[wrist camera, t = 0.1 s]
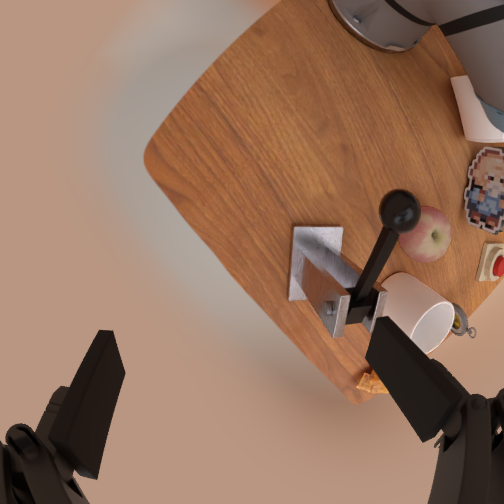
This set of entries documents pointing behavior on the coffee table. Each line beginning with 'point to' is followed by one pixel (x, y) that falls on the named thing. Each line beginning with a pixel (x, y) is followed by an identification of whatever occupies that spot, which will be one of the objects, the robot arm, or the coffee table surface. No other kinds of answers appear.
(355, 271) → the bracket
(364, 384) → the pyrite
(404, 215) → the lever
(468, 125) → the white cylinder
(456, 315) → the pocket watch
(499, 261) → the button
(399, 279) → the mug
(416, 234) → the apple
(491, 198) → the toy
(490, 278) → the housing
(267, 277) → the coffee table surface
